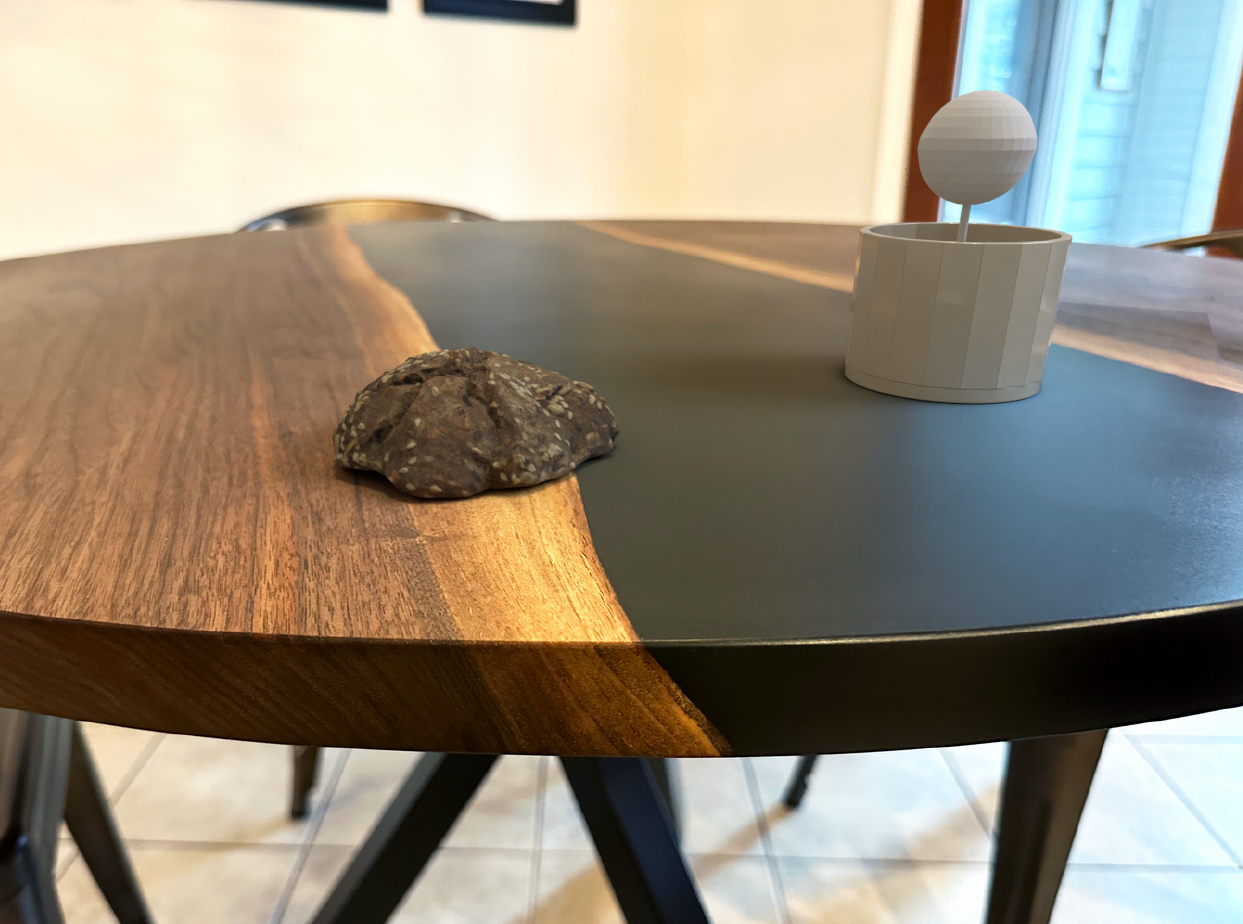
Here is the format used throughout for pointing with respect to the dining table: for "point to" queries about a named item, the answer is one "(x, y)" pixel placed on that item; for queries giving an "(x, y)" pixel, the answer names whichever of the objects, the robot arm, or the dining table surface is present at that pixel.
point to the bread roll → (472, 424)
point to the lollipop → (976, 149)
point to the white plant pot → (954, 310)
